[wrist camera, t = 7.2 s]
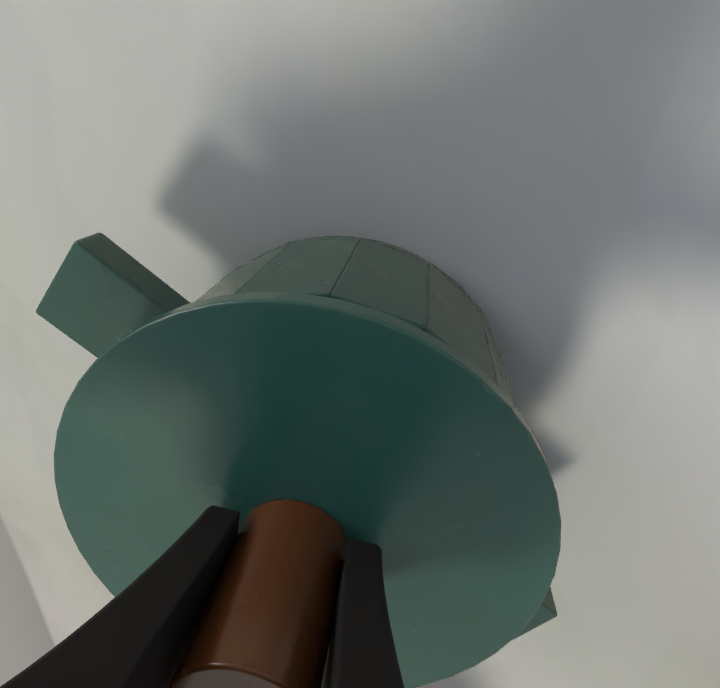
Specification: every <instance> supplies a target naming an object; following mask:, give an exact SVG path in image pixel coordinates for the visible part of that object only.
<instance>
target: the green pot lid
mask: <svg viewBox="0 0 720 688" xmlns="http://www.w3.org/2000/svg"><path fill="white" fill-rule="evenodd" d="M54 472H55V484H56V489H57V494H58V499H59V504H60V507H61V510H62V513H63V516H64V519H65V521H66V524H67V527H68V529H69V531H70V533H71V535H72V537H73V539H74V541H75V543H76V545H77V547H78V549H79V551H80V553H81V554H82V556H83V557H84V559H85V560H86V562H87V563H88V565H89V566H90V568H91V569H92V571H93V572H94V573H95V574H96V576H97V577H98V578H99V579H100V580H101V582H102V583H103V584H104V585H105V586H106V588H107V589H108V590H109V591H110V592H111V593H112V594H113V595H114V596H115V597H116V596H117V595H119V594H120V593H121V592H122V591H123V590H124V589H126V588H127V587H128V586H129V585H130V584H131V583H132V582H133V581H134V580H135V579H137V578H138V577H139V576H140V575H141V574H142V573H143V572H144V571H145V570H146V569H147V568H148V567H149V566H151V565H152V564H153V563H154V562H155V561H156V560H157V559H158V558H159V557H160V556H161V555H162V554H163V553H164V552H165V551H166V550H167V549H168V548H169V547H170V546H171V545H172V544H173V543H174V542H175V541H176V540H177V539H178V538H179V537H180V536H181V535H182V534H183V533H184V532H185V531H186V530H187V529H188V528H189V527H190V526H191V525H192V524H193V523H194V522H195V521H196V520H197V519H198V518H199V516H200V515H201V514H202V513H203V512H204V511H205V510H206V509H207V508H208V507H210V506H212V505H214V506H218V507H222V508H227V509H231V510H235V511H239V512H240V517H239V526H238V536H237V538H236V540H235V543H234V545H233V547H232V549H231V551H230V554H229V556H228V558H227V560H226V562H225V564H224V567H223V569H222V571H221V573H220V575H219V578H218V580H217V582H216V584H215V586H214V589H213V591H212V593H211V595H210V597H209V600H208V602H207V604H206V606H205V608H204V610H203V613H202V615H201V617H200V619H199V621H198V624H197V626H196V628H195V630H194V632H193V635H192V637H191V639H190V641H189V643H188V646H187V648H186V650H185V652H184V654H183V657H182V659H181V661H180V663H179V665H178V667H177V670H176V672H175V674H174V676H173V678H172V681H171V683H170V687H169V688H321V684H322V679H323V674H324V669H325V663H326V658H327V653H328V648H329V642H330V637H331V632H332V626H333V620H334V613H335V606H336V600H337V595H338V590H339V585H340V579H341V574H342V569H343V564H344V560H345V555H346V551H347V547H348V543H349V539H350V538H352V539H356V540H360V541H364V542H368V543H372V544H377V545H378V546H379V547H380V548H381V550H382V568H383V580H384V588H385V595H386V602H387V608H388V614H389V620H390V625H391V630H392V635H393V640H394V645H395V649H396V654H397V659H398V663H399V667H400V672H401V676H402V680H403V684H404V688H415V687H419V686H424V685H428V684H431V683H434V682H437V681H440V680H443V679H446V678H449V677H452V676H454V675H456V674H459V673H461V672H463V671H465V670H467V669H469V668H472V667H474V666H476V665H477V664H479V663H480V662H482V661H484V660H485V659H487V658H489V657H490V656H492V655H493V654H495V653H496V652H498V651H499V650H500V649H501V648H503V647H504V646H505V645H506V644H507V643H509V642H510V641H511V640H512V639H514V638H515V637H516V636H517V634H518V633H519V632H520V631H521V630H522V629H523V628H524V627H525V626H526V624H527V623H528V622H529V621H530V620H531V619H532V617H533V616H534V614H535V613H536V611H537V610H538V608H539V606H540V605H541V603H542V602H543V600H544V599H545V596H546V594H547V592H548V589H549V587H550V584H551V582H552V580H553V577H554V575H555V570H556V566H557V561H558V557H559V552H560V541H561V518H560V511H559V504H558V498H557V492H556V489H555V486H554V483H553V480H552V477H551V474H550V471H549V468H548V465H547V462H546V459H545V456H544V454H543V451H542V449H541V447H540V445H539V444H538V442H537V440H536V438H535V436H534V434H533V432H532V430H531V428H530V427H529V425H528V423H527V422H526V420H525V419H524V418H523V416H522V415H521V414H520V412H519V411H518V410H517V408H516V407H515V406H514V404H513V403H512V402H511V400H510V399H509V397H508V396H507V395H506V394H505V393H504V392H503V391H502V390H501V389H500V388H499V387H498V386H497V385H496V384H495V383H494V382H493V381H492V380H491V379H490V378H489V377H488V376H487V375H486V374H485V373H484V372H483V371H482V370H481V369H480V368H478V367H477V366H476V365H474V364H473V363H472V362H470V361H469V360H468V359H467V358H465V357H464V356H463V355H461V354H460V353H459V352H457V351H456V350H455V349H454V348H452V347H451V346H449V345H447V344H446V343H444V342H442V341H441V340H439V339H437V338H435V337H434V336H432V335H430V334H428V333H427V332H425V331H423V330H422V329H420V328H418V327H416V326H414V325H412V324H409V323H407V322H405V321H402V320H400V319H398V318H395V317H393V316H390V315H388V314H386V313H383V312H381V311H379V310H375V309H372V308H368V307H365V306H361V305H358V304H354V303H351V302H347V301H344V300H340V299H335V298H328V297H322V296H316V295H310V294H303V293H287V292H252V293H241V294H231V295H222V296H218V297H214V298H209V299H205V300H201V301H197V302H193V303H189V304H186V305H183V306H181V307H178V308H176V309H173V310H171V311H168V312H166V313H163V314H161V315H159V316H156V317H155V318H153V319H151V320H150V321H148V322H146V323H145V324H143V325H141V326H140V327H138V328H136V329H135V330H133V331H131V332H130V333H128V334H127V335H125V336H124V337H123V338H121V339H120V340H119V341H117V342H116V343H115V344H114V345H113V346H112V347H110V348H109V349H108V350H107V351H106V352H105V353H103V354H102V355H101V356H100V357H99V358H98V359H96V361H95V362H94V363H93V364H92V365H91V367H90V368H89V369H88V370H87V372H86V373H85V374H84V375H83V377H82V378H81V379H80V380H79V381H78V383H77V385H76V387H75V389H74V391H73V392H72V394H71V396H70V398H69V400H68V402H67V403H66V405H65V408H64V411H63V414H62V418H61V421H60V424H59V427H58V430H57V436H56V443H55V451H54Z"/></svg>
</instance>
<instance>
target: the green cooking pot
mask: <svg viewBox="0 0 720 688" xmlns="http://www.w3.org/2000/svg"><path fill="white" fill-rule="evenodd" d="M252 292H287V293H303V294H310V295H316V296H322V297H328V298H335V299H340V300H344V301H347V302H351V303H354V304H358V305H361V306H365V307H368V308H372V309H375V310H379V311H381V312H383V313H386V314H388V315H390V316H393V317H395V318H398V319H400V320H402V321H405V322H407V323H409V324H412V325H414V326H416V327H418V328H420V329H422V330H423V331H425V332H427V333H428V334H430V335H432V336H434V337H435V338H437V339H439V340H441V341H442V342H444V343H446V344H447V345H449V346H451V347H452V348H454V349H455V350H456V351H457V352H459V353H460V354H461V355H463V356H464V357H465V358H467V359H468V360H469V361H470V362H472V363H473V364H474V365H476V366H477V367H478V368H480V369H481V370H482V371H483V372H484V373H485V374H486V375H487V376H488V377H489V378H490V379H491V380H492V381H493V382H494V383H495V384H496V385H497V386H498V387H499V388H500V389H501V390H502V391H503V392H504V393H505V394H506V395H507V396H508V397H509V399H510V400H511V402H512V403H513V404H514V406H515V407H516V405H515V402H514V399H513V395H512V392H511V388H510V385H509V381H508V378H507V374H506V371H505V367H504V364H503V361H502V359H501V357H500V355H499V352H498V350H497V348H496V345H495V343H494V340H493V337H492V335H491V332H490V330H489V328H488V326H487V324H486V322H485V320H484V318H483V315H482V313H481V311H480V309H478V307H477V306H476V305H475V304H474V303H473V302H472V300H471V299H470V298H469V296H468V295H467V294H466V293H465V292H464V291H463V290H462V289H461V288H460V287H459V286H458V285H457V284H456V283H455V282H454V281H453V280H452V279H451V278H449V277H448V276H447V275H446V274H444V273H443V272H442V271H441V270H439V269H438V268H437V267H435V266H434V265H432V264H430V263H429V262H427V261H425V260H424V259H422V258H420V257H418V256H417V255H414V254H412V253H410V252H408V251H405V250H403V249H401V248H398V247H396V246H393V245H389V244H386V243H382V242H379V241H375V240H370V239H363V238H356V237H339V236H327V237H318V238H310V239H304V240H300V241H293V242H289V243H287V244H285V245H283V246H280V247H278V248H276V249H273V250H271V251H268V252H266V253H264V254H263V255H261V256H259V257H258V258H256V259H254V260H253V261H251V262H249V263H247V264H245V265H243V266H241V267H239V268H237V269H235V270H234V271H233V272H232V273H231V274H229V275H228V276H227V277H226V278H224V279H223V280H222V281H221V282H219V283H218V284H217V285H216V286H214V287H213V288H212V289H211V290H209V291H208V292H207V293H206V294H204V295H203V296H202V297H201V298H199V299H198V300H197V301H201V300H205V299H209V298H214V297H218V296H222V295H231V294H241V293H252ZM197 301H196V302H197ZM189 303H190V302H188V301H187V300H186V299H185V298H183V297H182V296H181V295H180V294H178V293H177V292H176V291H175V290H173V289H172V288H171V287H169V286H168V285H167V284H166V283H164V282H163V281H162V280H161V279H159V278H158V277H157V276H156V275H154V274H153V273H152V272H150V271H149V270H148V269H147V268H145V267H144V266H143V265H142V264H140V263H139V262H138V261H137V260H135V259H134V258H133V257H131V256H130V255H129V254H128V253H126V252H125V251H124V250H123V249H121V248H120V247H119V246H118V245H116V244H115V243H114V242H112V241H111V240H110V239H109V238H107V237H106V236H105V235H104V234H102V233H96V234H93V235H91V236H88V237H85V238H82V239H80V240H77V241H75V242H74V244H73V246H72V247H71V249H70V251H69V253H68V254H67V256H66V258H65V260H64V262H63V263H62V265H61V267H60V269H59V270H58V272H57V274H56V276H55V278H54V279H53V281H52V283H51V285H50V286H49V288H48V290H47V292H46V294H45V295H44V297H43V299H42V301H41V302H40V304H39V306H38V308H37V310H36V312H37V314H39V315H40V316H41V317H43V318H44V319H45V320H47V321H48V322H49V323H51V324H52V325H54V326H55V327H56V328H58V329H59V330H60V331H62V332H63V333H64V334H66V335H67V336H69V337H70V338H71V339H73V340H74V341H75V342H77V343H78V344H79V345H81V346H82V347H84V348H85V349H86V350H88V351H89V352H90V353H92V354H93V355H95V356H96V357H97V358H99V357H100V356H101V355H102V354H103V353H105V352H106V351H107V350H108V349H109V348H110V347H112V346H113V345H114V344H115V343H116V342H117V341H119V340H120V339H121V338H123V337H124V336H125V335H127V334H128V333H130V332H131V331H133V330H135V329H136V328H138V327H140V326H141V325H143V324H145V323H146V322H148V321H150V320H151V319H153V318H155V317H156V316H159V315H161V314H163V313H166V312H168V311H171V310H173V309H176V308H178V307H181V306H183V305H186V304H189ZM556 616H557V611H556V607H555V604H554V600H553V596H552V592H551V588H550V587H549V589H548V592H547V594H546V596H545V599H544V600H543V602H542V603H541V605H540V606H539V608H538V610H537V611H536V613H535V614H534V616H533V617H532V619H531V620H530V621H529V622H528V623H527V624H526V626H525V627H524V628H523V629H522V630H521V631H520V632H519V633H518V634H517V636H516V637H515V638H517V637H519V636H521V635H523V634H524V633H526V632H528V631H530V630H532V629H534V628H536V627H538V626H539V625H541V624H543V623H545V622H547V621H549V620H551V619H552V618H554V617H556ZM515 638H514V639H515ZM512 640H513V639H512Z"/></svg>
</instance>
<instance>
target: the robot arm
mask: <svg viewBox="0 0 720 688" xmlns="http://www.w3.org/2000/svg"><path fill="white" fill-rule="evenodd" d="M239 517H240V512H239V511H235V510H231V509H227V508H222V507H218V506H214V505H212V506H210V507H208V508H207V509H206V510H205V511H204V512H203V513H202V514H201V515H200V516H199V518H198V519H197V520H196V521H195V522H194V523H193V524H192V525H191V526H190V527H189V528H188V529H187V530H186V531H185V532H184V533H183V534H182V535H181V536H180V537H179V538H178V539H177V540H176V541H175V542H174V543H173V544H172V545H171V546H170V547H169V548H168V549H167V550H166V551H165V552H164V553H163V554H162V555H161V556H160V557H159V558H158V559H157V560H156V561H155V562H154V563H153V564H152V565H151V566H149V567H148V568H147V569H146V570H145V571H144V572H143V573H142V574H141V575H140V576H139V577H138V578H137V579H135V580H134V581H133V582H132V583H131V584H130V585H129V586H128V587H127V588H126V589H124V590H123V591H122V592H121V593H120V594H119V595H117V596H116V597H115V598H114V599H113V600H112V601H110V602H109V603H108V604H107V605H106V606H105V607H103V608H102V609H101V610H100V611H99V612H98V613H96V614H95V615H94V616H93V617H92V618H90V619H89V620H88V621H87V622H86V623H84V624H83V625H82V626H81V627H80V628H78V629H77V630H76V631H75V632H73V633H72V634H71V635H70V636H68V637H67V638H66V639H64V640H63V641H62V642H61V643H59V644H58V645H57V646H55V647H54V648H53V649H52V650H50V651H49V652H48V653H46V654H45V655H44V656H42V657H41V658H40V659H38V660H37V661H36V662H34V663H33V664H32V665H30V666H29V667H28V668H26V669H25V670H24V671H22V672H21V673H19V674H18V675H16V676H15V677H14V678H12V679H11V680H9V681H8V682H6V683H5V684H4V685H2V686H1V687H0V688H169V687H170V683H171V681H172V678H173V676H174V674H175V672H176V670H177V667H178V665H179V663H180V661H181V659H182V657H183V654H184V652H185V650H186V648H187V646H188V643H189V641H190V639H191V637H192V635H193V632H194V630H195V628H196V626H197V624H198V621H199V619H200V617H201V615H202V613H203V610H204V608H205V606H206V604H207V602H208V600H209V597H210V595H211V593H212V591H213V589H214V586H215V584H216V582H217V580H218V578H219V575H220V573H221V571H222V569H223V567H224V564H225V562H226V560H227V558H228V556H229V554H230V551H231V549H232V547H233V545H234V543H235V540H236V538H237V536H238V526H239ZM321 688H404V684H403V680H402V676H401V672H400V667H399V663H398V659H397V654H396V649H395V645H394V640H393V635H392V630H391V625H390V620H389V614H388V608H387V602H386V595H385V588H384V580H383V568H382V550H381V548H380V547H379V546H378V545H377V544H372V543H368V542H364V541H360V540H356V539H352V538H350V539H349V543H348V547H347V551H346V555H345V560H344V564H343V569H342V574H341V579H340V585H339V590H338V595H337V600H336V606H335V613H334V620H333V626H332V632H331V637H330V642H329V648H328V653H327V658H326V663H325V669H324V674H323V679H322V684H321Z"/></svg>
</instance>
